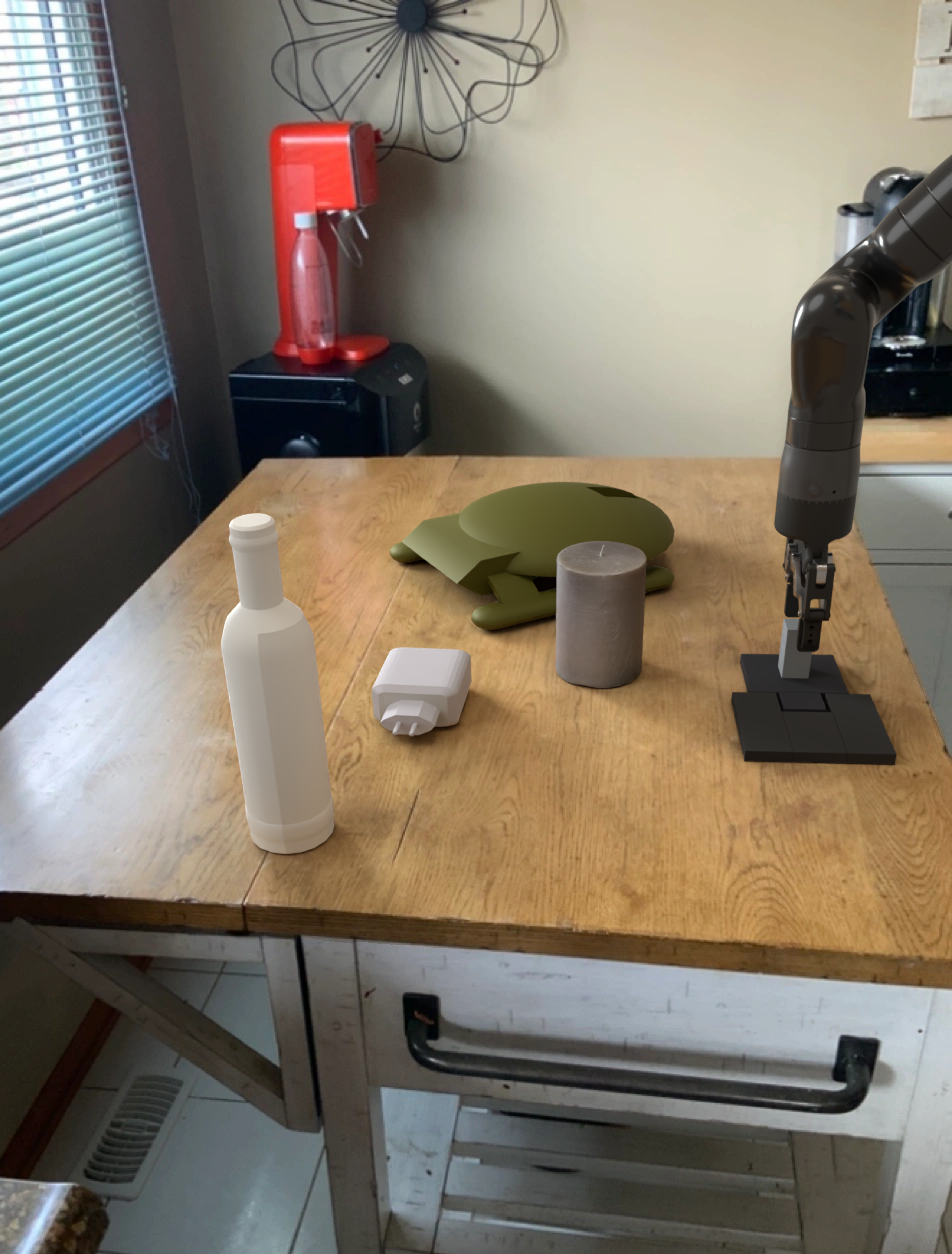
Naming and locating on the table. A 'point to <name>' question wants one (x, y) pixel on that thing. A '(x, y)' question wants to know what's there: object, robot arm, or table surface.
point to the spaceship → (533, 542)
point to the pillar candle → (600, 613)
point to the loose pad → (794, 687)
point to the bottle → (275, 699)
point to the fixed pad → (812, 730)
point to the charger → (421, 689)
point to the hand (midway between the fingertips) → (800, 632)
